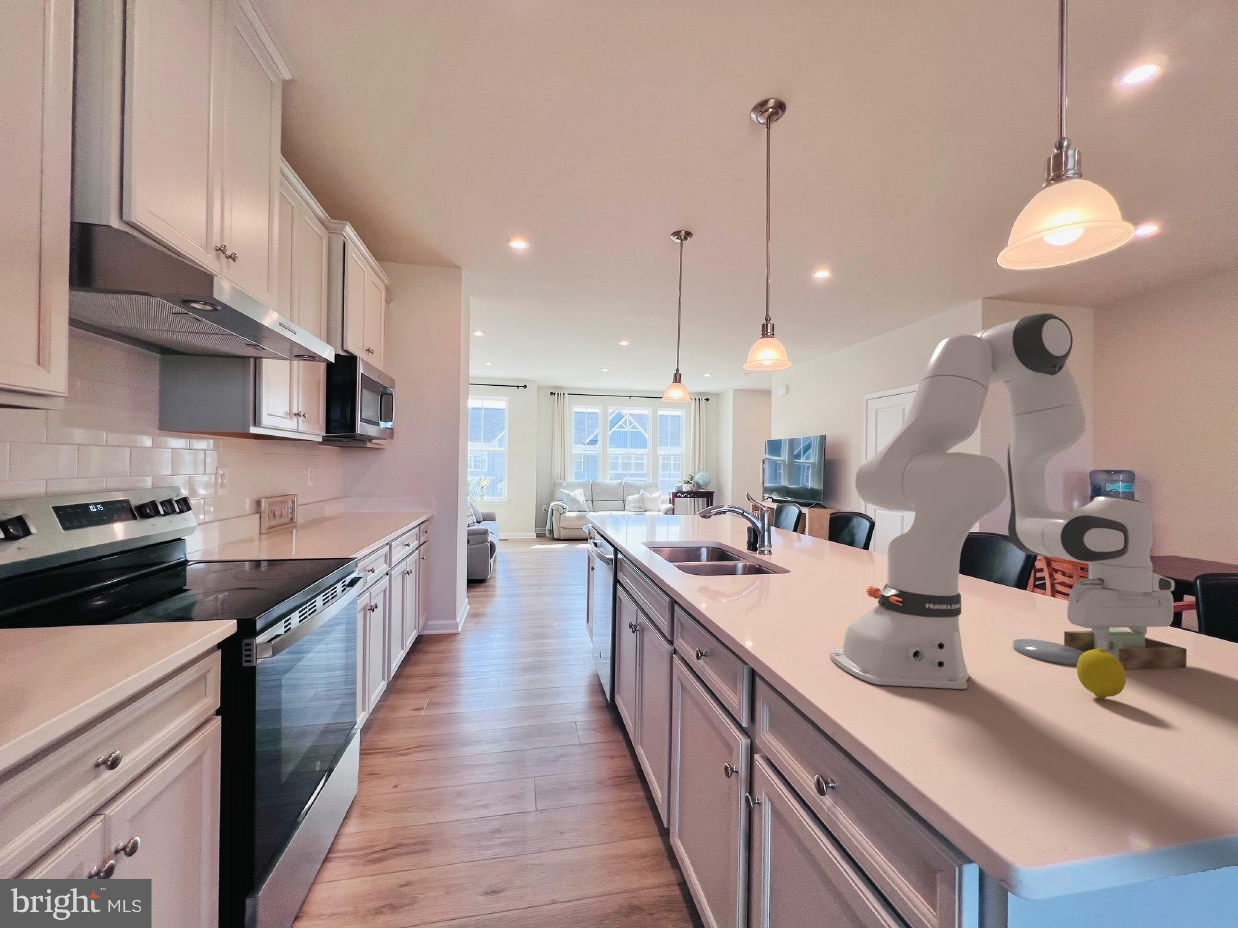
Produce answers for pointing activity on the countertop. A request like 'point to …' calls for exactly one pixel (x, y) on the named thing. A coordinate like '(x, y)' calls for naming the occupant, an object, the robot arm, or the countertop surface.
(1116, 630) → the cube
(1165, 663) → the cubby
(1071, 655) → the grey round glossy part
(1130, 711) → the countertop surface
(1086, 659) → the lemon
